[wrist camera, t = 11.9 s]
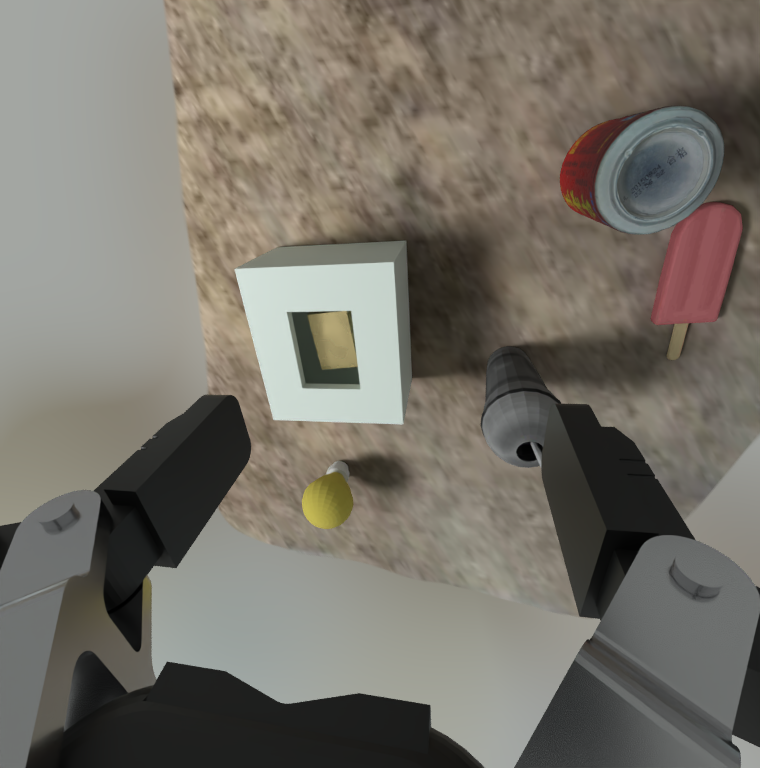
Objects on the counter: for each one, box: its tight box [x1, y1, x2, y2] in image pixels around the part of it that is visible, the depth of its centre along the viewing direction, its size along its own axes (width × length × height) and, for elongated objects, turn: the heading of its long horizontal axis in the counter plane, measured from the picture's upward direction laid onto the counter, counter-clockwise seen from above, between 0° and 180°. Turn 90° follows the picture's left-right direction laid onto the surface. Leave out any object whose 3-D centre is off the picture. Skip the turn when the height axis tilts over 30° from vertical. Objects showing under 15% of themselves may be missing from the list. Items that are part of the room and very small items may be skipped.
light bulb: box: [302, 461, 353, 529], centre depth 52 cm, size 7×7×10 cm
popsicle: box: [651, 202, 743, 360], centre depth 37 cm, size 5×2×15 cm
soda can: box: [560, 106, 724, 234], centre depth 28 cm, size 7×7×12 cm
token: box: [307, 311, 358, 370], centre depth 40 cm, size 6×4×4 cm, turn 9°
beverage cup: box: [481, 346, 561, 468], centre depth 36 cm, size 7×7×20 cm
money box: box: [235, 241, 412, 424], centre depth 40 cm, size 16×14×10 cm
